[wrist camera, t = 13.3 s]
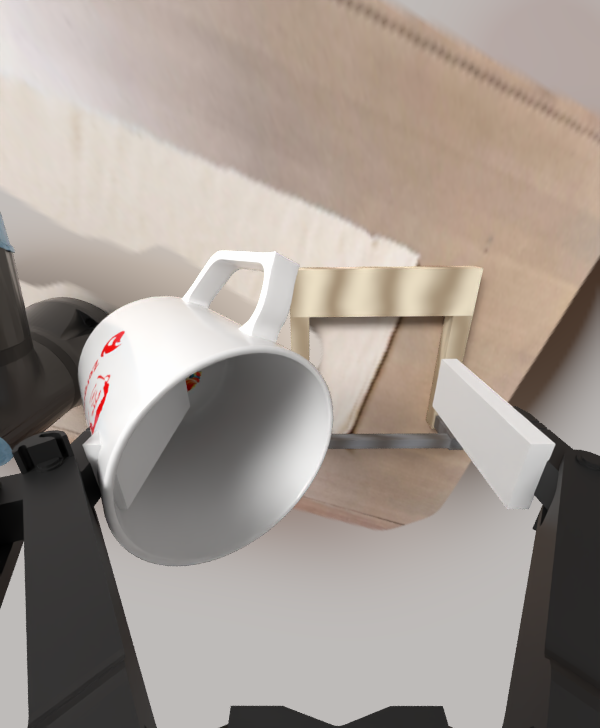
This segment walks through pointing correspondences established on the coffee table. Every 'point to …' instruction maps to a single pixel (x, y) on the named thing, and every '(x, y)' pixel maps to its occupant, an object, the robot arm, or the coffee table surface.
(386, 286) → the beige and grey frame
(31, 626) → the robot arm
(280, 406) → the mug
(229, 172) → the coffee table surface
